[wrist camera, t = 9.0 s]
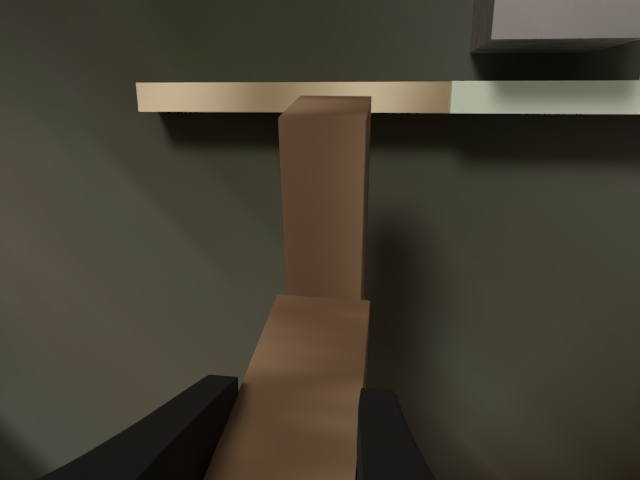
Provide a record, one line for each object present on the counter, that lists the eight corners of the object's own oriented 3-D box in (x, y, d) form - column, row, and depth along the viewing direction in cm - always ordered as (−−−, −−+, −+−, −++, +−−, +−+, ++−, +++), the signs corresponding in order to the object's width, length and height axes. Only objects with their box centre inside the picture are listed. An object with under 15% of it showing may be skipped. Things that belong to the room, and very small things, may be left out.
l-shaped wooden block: (380, 96, 14) (359, 233, 6) (367, 418, 19) (346, 727, 11) (291, 95, 14) (152, 223, 6) (303, 412, 19) (236, 707, 11)
